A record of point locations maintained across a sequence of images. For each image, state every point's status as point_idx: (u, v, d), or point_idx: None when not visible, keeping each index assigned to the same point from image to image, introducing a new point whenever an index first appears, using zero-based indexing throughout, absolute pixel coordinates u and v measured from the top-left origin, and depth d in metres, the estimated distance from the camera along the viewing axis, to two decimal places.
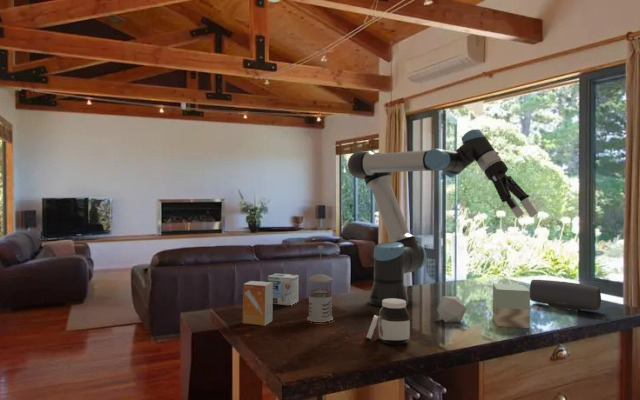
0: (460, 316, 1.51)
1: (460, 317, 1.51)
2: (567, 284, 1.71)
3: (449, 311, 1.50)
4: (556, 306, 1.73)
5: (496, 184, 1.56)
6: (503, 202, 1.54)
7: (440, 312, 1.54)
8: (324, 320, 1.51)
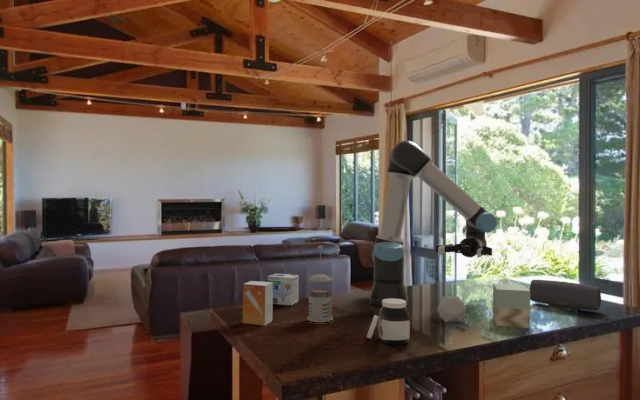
0: (460, 316, 1.51)
1: (460, 317, 1.51)
2: (567, 284, 1.71)
3: (449, 311, 1.50)
4: (556, 306, 1.73)
5: None
6: (484, 246, 1.64)
7: (440, 312, 1.54)
8: (324, 320, 1.51)
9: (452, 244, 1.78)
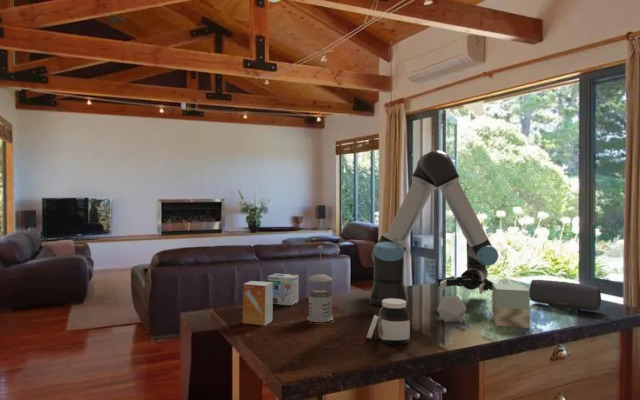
0: (460, 316, 1.51)
1: (460, 317, 1.51)
2: (567, 284, 1.71)
3: (449, 311, 1.50)
4: (556, 306, 1.73)
5: None
6: (486, 281, 1.65)
7: (440, 312, 1.54)
8: (324, 320, 1.51)
9: (454, 277, 1.78)
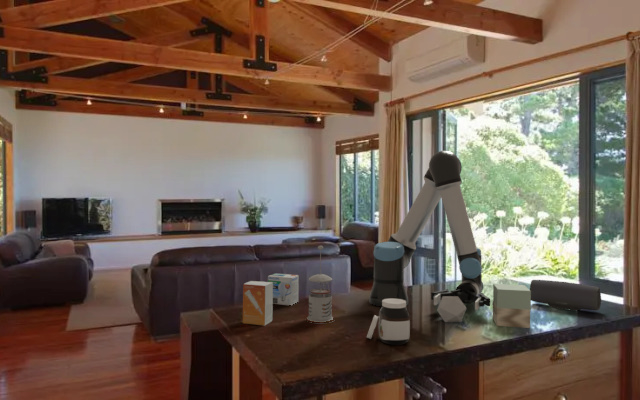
0: (460, 316, 1.51)
1: (460, 317, 1.51)
2: (567, 284, 1.71)
3: (449, 311, 1.50)
4: (556, 306, 1.73)
5: None
6: (482, 296, 1.56)
7: (440, 312, 1.54)
8: (324, 320, 1.51)
9: (448, 290, 1.70)
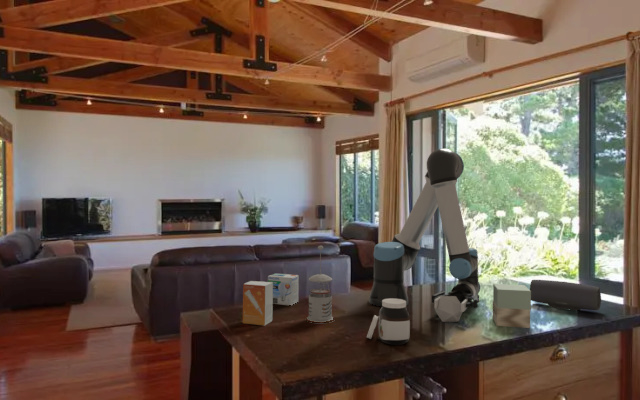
0: (457, 316, 1.51)
1: (457, 317, 1.51)
2: (567, 284, 1.71)
3: (446, 311, 1.51)
4: (556, 306, 1.73)
5: None
6: (469, 298, 1.53)
7: (437, 312, 1.54)
8: (324, 320, 1.51)
9: (444, 292, 1.66)
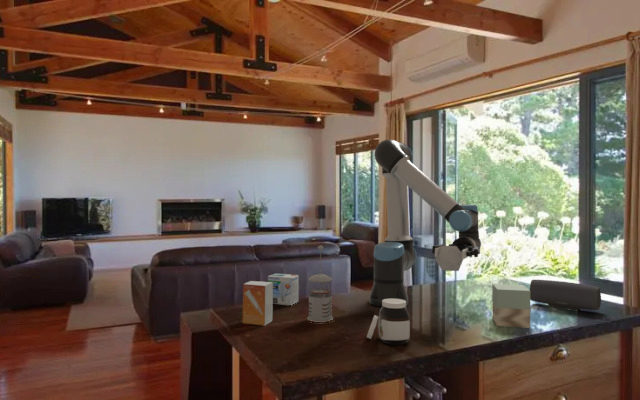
0: (458, 264, 1.51)
1: (458, 265, 1.51)
2: (567, 284, 1.71)
3: (446, 259, 1.50)
4: (556, 306, 1.73)
5: None
6: (469, 247, 1.53)
7: (438, 261, 1.54)
8: (324, 320, 1.51)
9: None
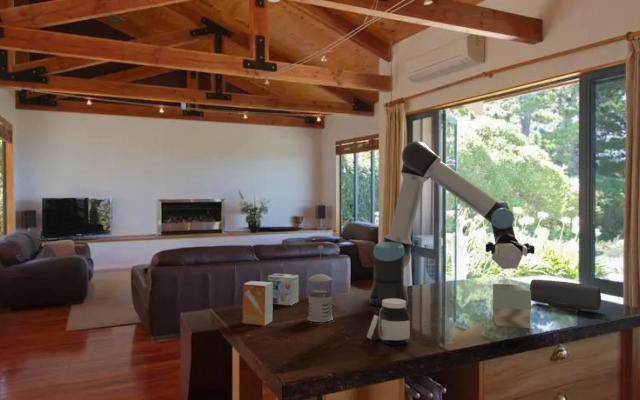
0: (518, 262, 1.49)
1: (517, 263, 1.50)
2: (567, 284, 1.71)
3: (507, 257, 1.48)
4: (556, 306, 1.73)
5: None
6: (526, 244, 1.52)
7: (496, 259, 1.51)
8: (324, 320, 1.51)
9: None
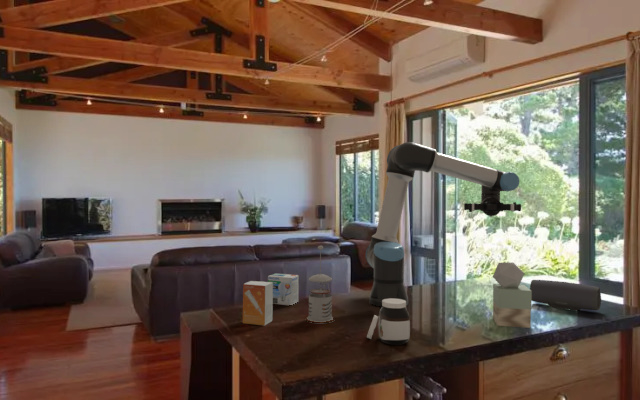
0: (519, 281, 1.50)
1: (518, 282, 1.50)
2: (567, 284, 1.71)
3: (509, 276, 1.49)
4: (556, 306, 1.73)
5: None
6: (514, 202, 1.70)
7: (498, 278, 1.52)
8: (324, 320, 1.51)
9: None
